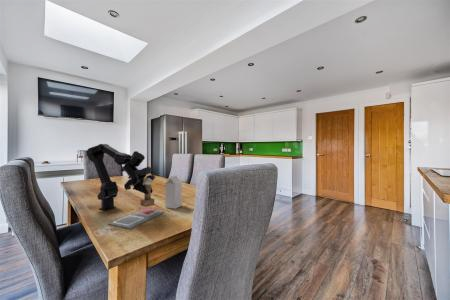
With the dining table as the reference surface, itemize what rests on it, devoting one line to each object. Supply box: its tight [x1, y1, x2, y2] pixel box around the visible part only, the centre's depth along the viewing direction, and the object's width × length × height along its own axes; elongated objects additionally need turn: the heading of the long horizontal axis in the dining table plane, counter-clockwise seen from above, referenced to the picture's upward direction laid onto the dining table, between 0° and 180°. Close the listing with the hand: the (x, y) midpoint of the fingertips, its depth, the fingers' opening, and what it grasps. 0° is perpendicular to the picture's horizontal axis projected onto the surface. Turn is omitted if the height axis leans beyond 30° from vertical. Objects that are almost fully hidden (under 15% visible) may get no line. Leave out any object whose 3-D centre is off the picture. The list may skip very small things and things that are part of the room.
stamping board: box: [107, 208, 165, 230], centre depth 96 cm, size 14×23×2 cm, turn 160°
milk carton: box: [164, 175, 183, 210], centre depth 116 cm, size 7×7×19 cm
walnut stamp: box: [140, 177, 155, 208], centre depth 102 cm, size 5×5×15 cm
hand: (150, 193), depth 101 cm, fingers closed on walnut stamp, 3 cm apart
